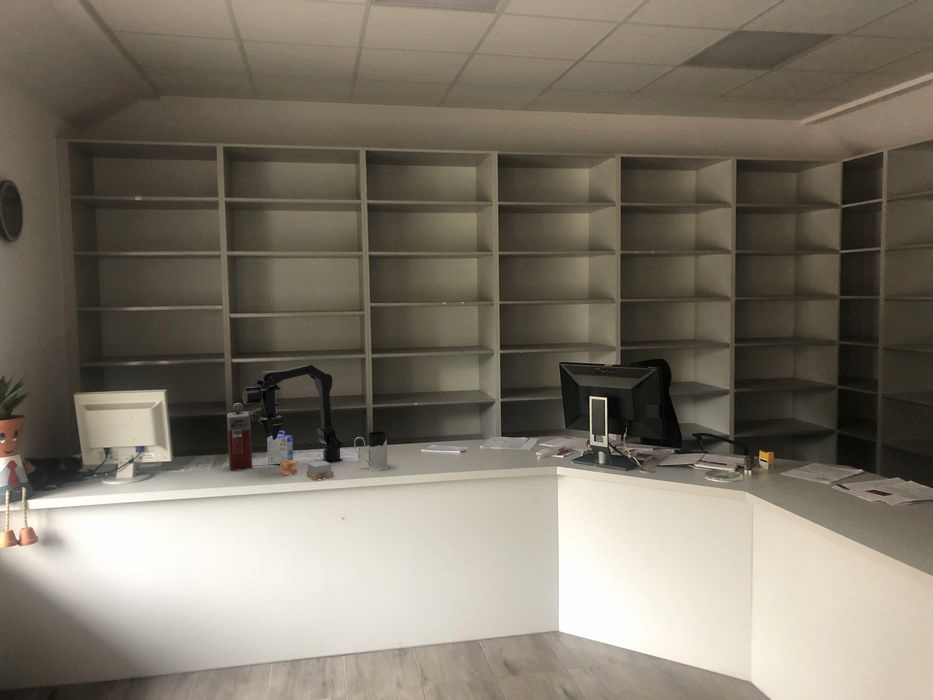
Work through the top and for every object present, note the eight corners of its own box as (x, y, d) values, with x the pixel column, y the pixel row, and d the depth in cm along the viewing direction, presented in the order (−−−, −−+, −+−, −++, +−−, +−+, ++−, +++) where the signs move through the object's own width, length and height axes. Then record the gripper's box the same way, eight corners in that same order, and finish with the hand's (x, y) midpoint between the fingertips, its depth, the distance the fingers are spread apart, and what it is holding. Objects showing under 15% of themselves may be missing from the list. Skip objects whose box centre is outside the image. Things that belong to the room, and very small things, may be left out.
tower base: (324, 474, 280) (324, 467, 280) (333, 478, 274) (333, 471, 273) (307, 477, 275) (306, 470, 275) (315, 481, 269) (315, 474, 268)
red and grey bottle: (230, 471, 284) (227, 406, 281) (229, 465, 294) (226, 402, 291) (252, 469, 287) (249, 404, 284) (250, 463, 297) (247, 400, 295)
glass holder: (389, 469, 284) (388, 435, 282) (354, 471, 281) (353, 436, 280) (387, 464, 292) (387, 430, 291) (354, 466, 290) (353, 432, 288)
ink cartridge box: (294, 462, 298) (292, 430, 297) (288, 465, 293) (287, 433, 291) (273, 461, 300) (272, 429, 299) (267, 464, 295) (266, 432, 293)
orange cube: (291, 471, 283) (291, 460, 283) (296, 474, 279) (296, 462, 279) (280, 473, 280) (280, 462, 280) (285, 476, 276) (284, 464, 276)
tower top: (323, 467, 279) (323, 460, 279) (331, 471, 273) (331, 464, 273) (307, 470, 275) (307, 463, 274) (315, 474, 269) (315, 466, 269)
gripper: (242, 400, 283) (244, 436, 285) (256, 406, 268) (258, 444, 270) (268, 397, 290) (270, 433, 291) (283, 403, 275) (285, 440, 276)
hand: (270, 437), depth 282 cm, fingers open, 9 cm apart
